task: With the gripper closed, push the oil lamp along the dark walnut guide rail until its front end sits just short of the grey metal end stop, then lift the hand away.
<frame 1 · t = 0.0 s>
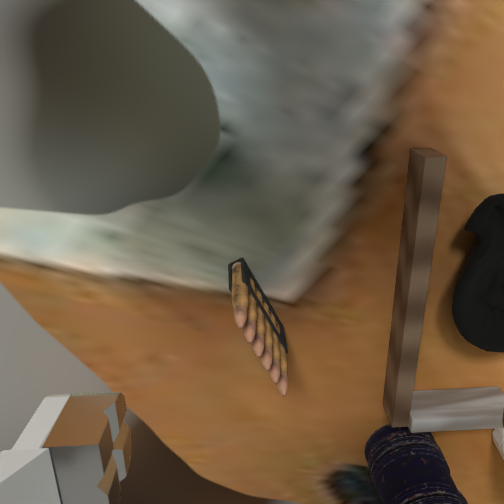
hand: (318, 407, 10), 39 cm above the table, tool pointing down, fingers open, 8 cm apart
oil lamp: (494, 259, 53), on the table
storage jar: (398, 446, 64), on the table
ammunition clip: (257, 296, 54), on the table
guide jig: (402, 298, 54), on the table
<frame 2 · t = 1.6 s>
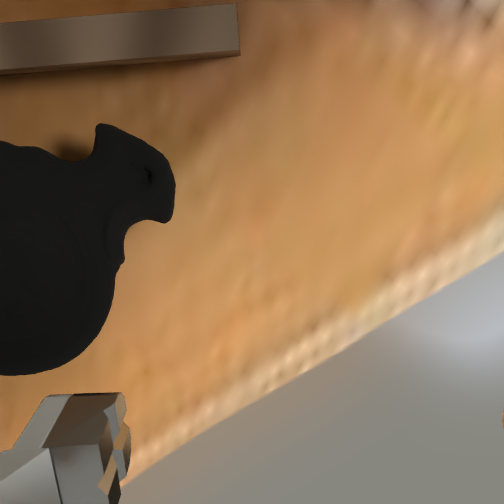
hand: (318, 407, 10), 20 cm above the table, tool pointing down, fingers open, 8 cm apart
oil lamp: (48, 228, 30), on the table
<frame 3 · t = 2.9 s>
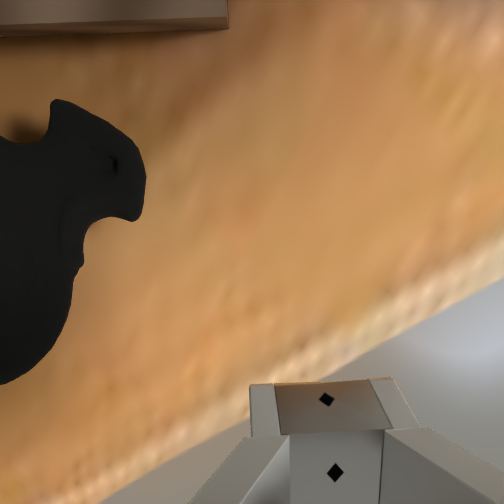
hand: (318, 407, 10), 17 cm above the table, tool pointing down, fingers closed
oil lamp: (0, 222, 26), on the table
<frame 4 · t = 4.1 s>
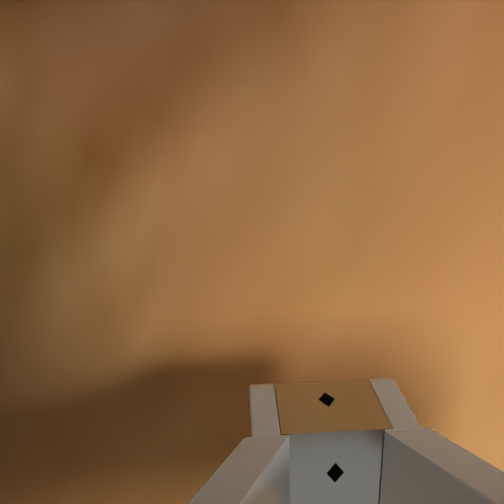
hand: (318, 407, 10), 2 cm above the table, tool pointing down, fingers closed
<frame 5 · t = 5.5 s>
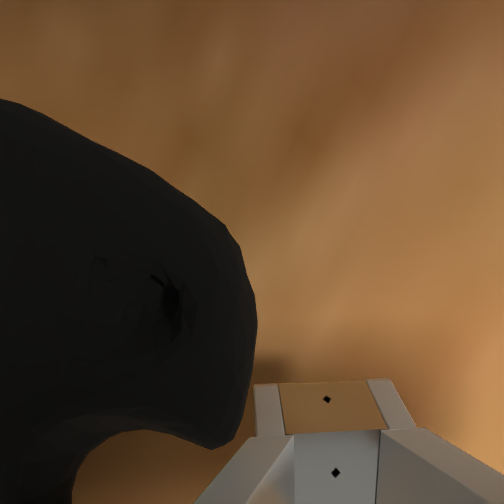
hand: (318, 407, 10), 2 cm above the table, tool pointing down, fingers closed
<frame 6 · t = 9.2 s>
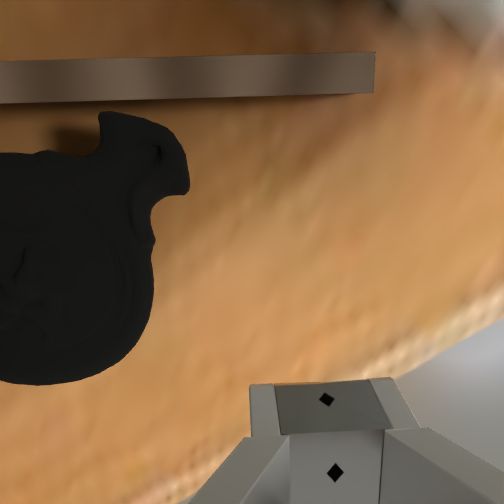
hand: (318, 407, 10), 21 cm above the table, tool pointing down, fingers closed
oil lamp: (77, 234, 31), on the table
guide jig: (61, 84, 27), on the table
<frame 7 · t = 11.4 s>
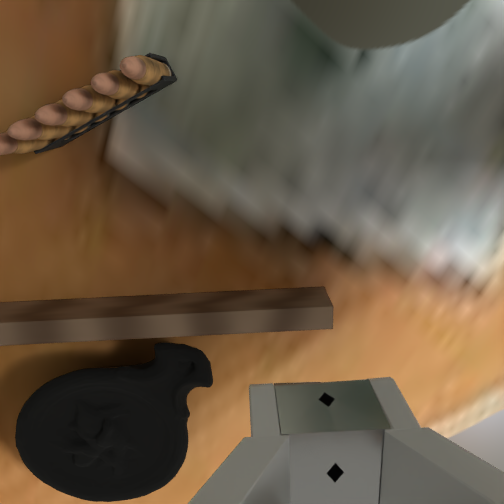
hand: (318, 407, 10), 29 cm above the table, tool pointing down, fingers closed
oil lamp: (133, 394, 44), on the table
ammunition clip: (111, 103, 35), on the table
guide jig: (125, 306, 41), on the table
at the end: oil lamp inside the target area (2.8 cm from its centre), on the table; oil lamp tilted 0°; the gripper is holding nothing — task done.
